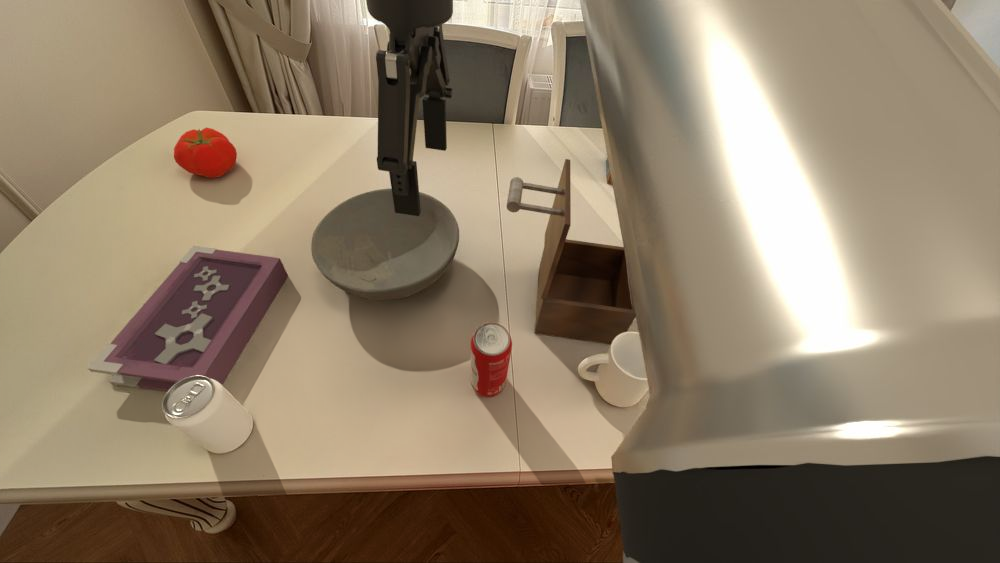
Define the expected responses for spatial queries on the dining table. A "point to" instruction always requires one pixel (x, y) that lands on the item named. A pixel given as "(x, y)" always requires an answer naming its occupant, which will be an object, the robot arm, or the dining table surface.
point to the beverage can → (490, 359)
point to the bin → (586, 294)
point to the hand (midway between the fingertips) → (423, 177)
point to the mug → (619, 371)
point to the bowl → (384, 245)
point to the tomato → (205, 153)
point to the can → (207, 414)
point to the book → (194, 320)
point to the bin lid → (557, 219)
